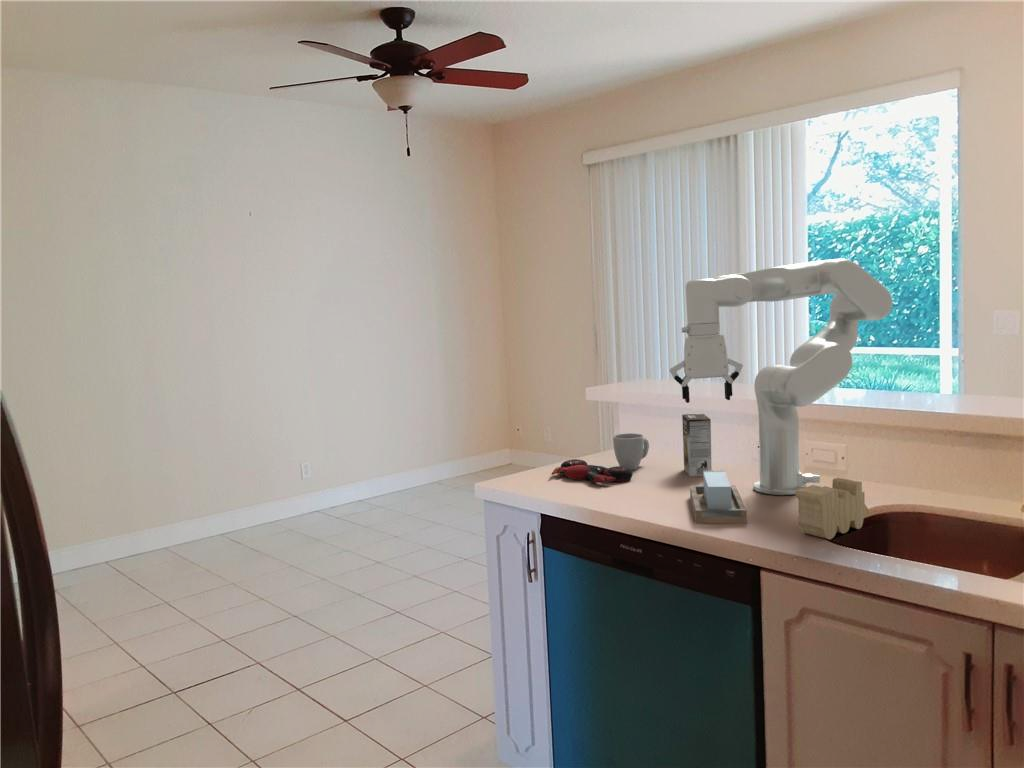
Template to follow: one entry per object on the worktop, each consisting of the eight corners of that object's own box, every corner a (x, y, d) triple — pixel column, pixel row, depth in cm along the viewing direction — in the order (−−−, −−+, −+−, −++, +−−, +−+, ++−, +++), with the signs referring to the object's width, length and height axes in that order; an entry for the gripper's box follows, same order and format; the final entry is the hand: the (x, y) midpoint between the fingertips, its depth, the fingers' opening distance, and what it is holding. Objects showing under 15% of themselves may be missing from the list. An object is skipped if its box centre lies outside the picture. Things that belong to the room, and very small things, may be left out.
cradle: (690, 497, 195) (690, 485, 195) (735, 497, 193) (735, 485, 193) (696, 523, 173) (695, 510, 173) (747, 523, 171) (746, 510, 171)
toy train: (868, 526, 165) (868, 479, 164) (819, 543, 156) (818, 494, 155) (845, 520, 170) (844, 475, 169) (795, 537, 161) (794, 489, 160)
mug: (627, 472, 225) (626, 439, 224) (608, 468, 232) (607, 436, 231) (658, 466, 232) (657, 434, 230) (638, 461, 239) (637, 430, 238)
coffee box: (683, 469, 226) (681, 414, 224) (705, 468, 225) (704, 413, 224) (689, 476, 217) (687, 419, 215) (712, 475, 216) (711, 418, 215)
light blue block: (731, 512, 175) (731, 486, 174) (708, 513, 175) (708, 486, 175) (724, 494, 190) (724, 470, 190) (703, 494, 191) (703, 470, 190)
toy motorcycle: (574, 472, 236) (535, 473, 226) (576, 455, 236) (536, 455, 226) (638, 487, 217) (598, 489, 207) (639, 468, 217) (600, 469, 207)
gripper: (669, 334, 186) (673, 405, 188) (743, 328, 184) (746, 400, 186) (665, 332, 193) (669, 400, 195) (737, 327, 191) (740, 396, 193)
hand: (707, 400), depth 191 cm, fingers open, 9 cm apart
